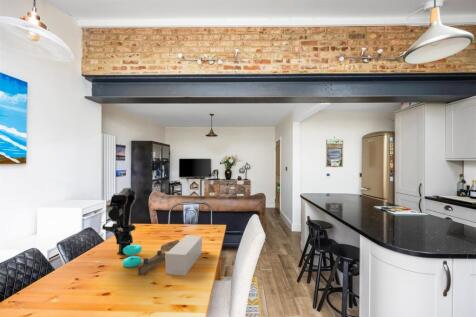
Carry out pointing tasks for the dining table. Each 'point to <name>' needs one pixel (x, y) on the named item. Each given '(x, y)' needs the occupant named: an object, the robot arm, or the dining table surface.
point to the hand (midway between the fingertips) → (118, 242)
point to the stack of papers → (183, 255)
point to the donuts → (132, 260)
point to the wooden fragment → (169, 246)
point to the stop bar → (151, 263)
